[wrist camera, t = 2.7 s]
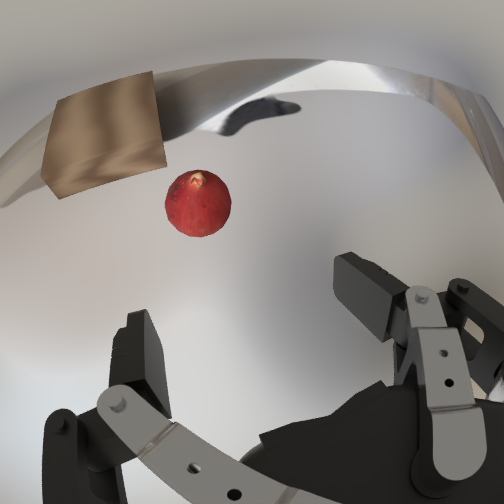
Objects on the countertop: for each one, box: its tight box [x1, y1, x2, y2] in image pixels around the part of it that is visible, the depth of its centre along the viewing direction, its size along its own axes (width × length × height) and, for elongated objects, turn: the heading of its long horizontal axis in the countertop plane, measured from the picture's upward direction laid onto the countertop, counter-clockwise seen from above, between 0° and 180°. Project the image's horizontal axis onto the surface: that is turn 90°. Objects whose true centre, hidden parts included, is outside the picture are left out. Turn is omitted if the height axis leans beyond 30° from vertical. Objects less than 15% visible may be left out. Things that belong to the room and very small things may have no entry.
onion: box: [165, 170, 231, 237], centre depth 23 cm, size 6×6×8 cm
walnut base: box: [40, 71, 167, 199], centre depth 27 cm, size 14×14×5 cm
